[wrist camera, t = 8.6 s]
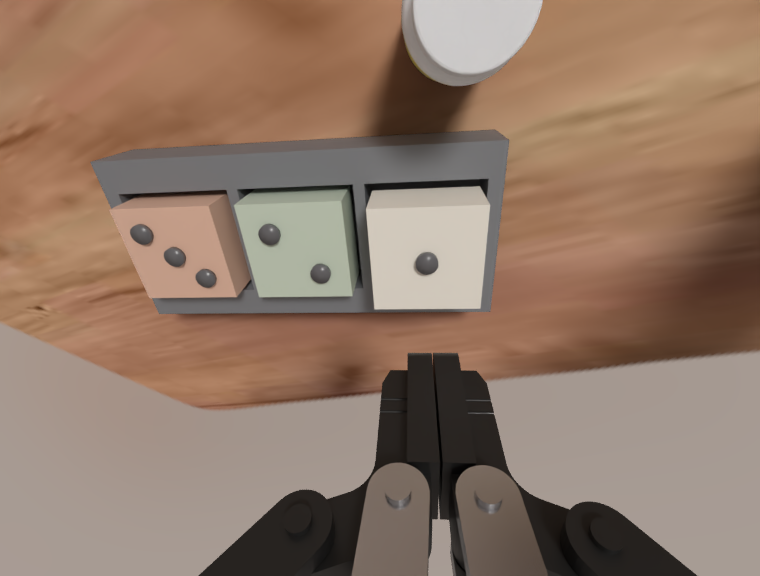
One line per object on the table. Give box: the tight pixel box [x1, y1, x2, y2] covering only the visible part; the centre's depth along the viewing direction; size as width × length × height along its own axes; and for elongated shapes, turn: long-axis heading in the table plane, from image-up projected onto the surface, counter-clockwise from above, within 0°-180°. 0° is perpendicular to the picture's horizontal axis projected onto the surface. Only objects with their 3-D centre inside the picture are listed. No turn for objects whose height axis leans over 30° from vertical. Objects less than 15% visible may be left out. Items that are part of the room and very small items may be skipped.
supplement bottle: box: [401, 0, 543, 86], centre depth 15 cm, size 5×5×8 cm
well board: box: [91, 130, 509, 314], centre depth 23 cm, size 22×10×4 cm, turn 94°
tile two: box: [234, 185, 359, 297], centre depth 21 cm, size 6×6×3 cm
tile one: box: [366, 186, 490, 309], centre depth 19 cm, size 6×6×3 cm
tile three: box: [109, 190, 251, 298], centre depth 22 cm, size 6×6×3 cm
